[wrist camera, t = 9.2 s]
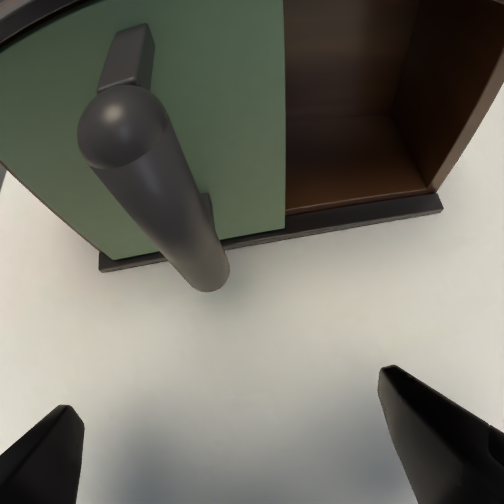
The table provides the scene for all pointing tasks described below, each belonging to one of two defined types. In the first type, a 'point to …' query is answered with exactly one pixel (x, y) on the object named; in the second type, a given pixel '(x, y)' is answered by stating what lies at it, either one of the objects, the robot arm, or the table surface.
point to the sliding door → (153, 125)
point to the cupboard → (359, 105)
